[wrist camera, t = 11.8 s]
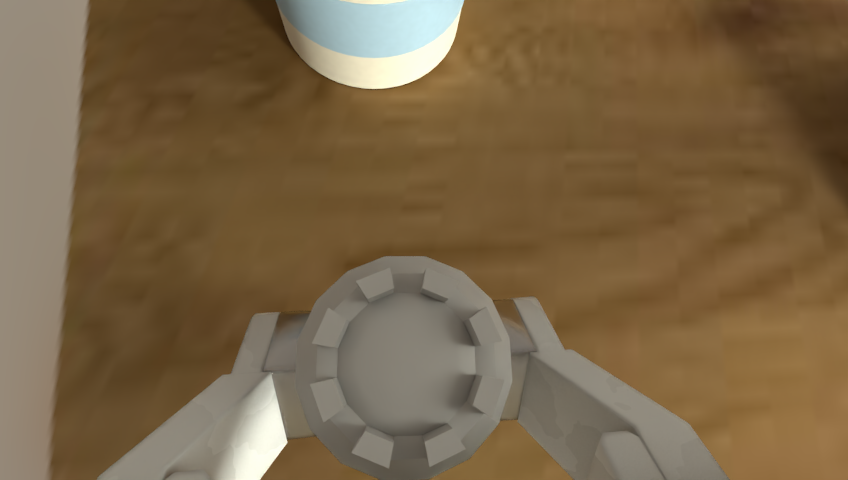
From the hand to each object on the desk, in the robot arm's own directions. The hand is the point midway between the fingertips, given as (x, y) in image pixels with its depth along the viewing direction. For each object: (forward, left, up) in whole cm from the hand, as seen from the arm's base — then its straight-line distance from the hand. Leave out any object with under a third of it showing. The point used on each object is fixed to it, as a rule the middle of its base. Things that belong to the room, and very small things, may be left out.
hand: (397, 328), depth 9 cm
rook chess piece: (-1, 0, -5) cm, 5 cm away
